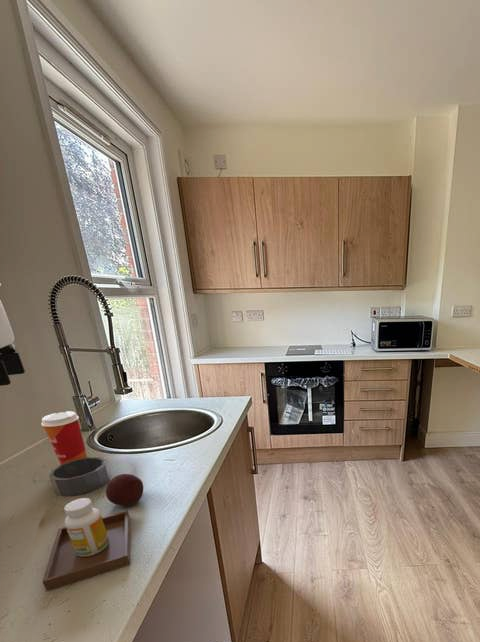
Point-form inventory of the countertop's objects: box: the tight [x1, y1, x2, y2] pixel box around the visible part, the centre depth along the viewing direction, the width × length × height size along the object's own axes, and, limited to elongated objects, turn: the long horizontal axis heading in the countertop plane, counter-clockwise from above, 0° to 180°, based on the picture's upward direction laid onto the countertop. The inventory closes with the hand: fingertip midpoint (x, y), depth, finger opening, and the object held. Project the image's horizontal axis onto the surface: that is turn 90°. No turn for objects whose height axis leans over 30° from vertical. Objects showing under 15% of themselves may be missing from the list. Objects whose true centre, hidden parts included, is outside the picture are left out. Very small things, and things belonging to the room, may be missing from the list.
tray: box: [42, 510, 131, 592], centre depth 65 cm, size 12×15×2 cm
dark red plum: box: [105, 473, 144, 507], centre depth 79 cm, size 7×8×7 cm
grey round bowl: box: [48, 456, 111, 497], centre depth 87 cm, size 12×12×4 cm
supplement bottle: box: [63, 497, 109, 557], centre depth 63 cm, size 5×5×10 cm
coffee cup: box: [40, 410, 88, 465], centre depth 94 cm, size 8×8×15 cm
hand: (7, 379), depth 64 cm, fingers open, 9 cm apart
